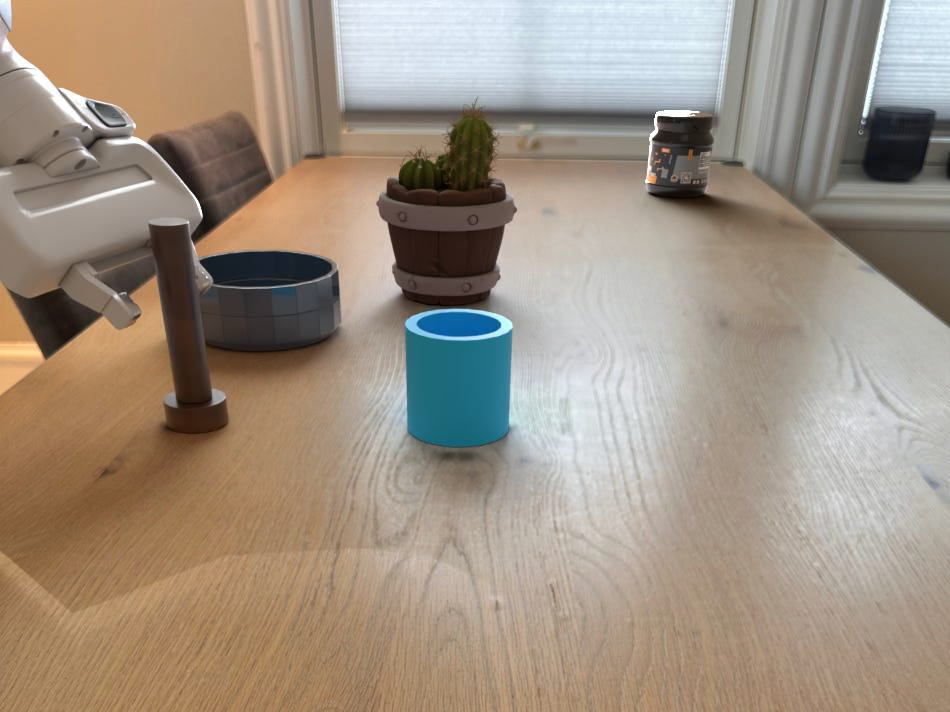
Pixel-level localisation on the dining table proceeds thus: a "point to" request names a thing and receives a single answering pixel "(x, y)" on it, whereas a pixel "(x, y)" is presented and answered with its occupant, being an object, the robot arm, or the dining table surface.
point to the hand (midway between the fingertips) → (170, 305)
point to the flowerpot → (449, 217)
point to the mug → (458, 376)
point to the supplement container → (680, 154)
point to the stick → (184, 332)
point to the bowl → (269, 299)
